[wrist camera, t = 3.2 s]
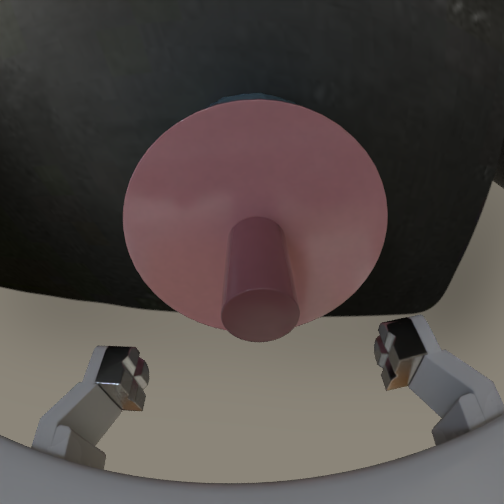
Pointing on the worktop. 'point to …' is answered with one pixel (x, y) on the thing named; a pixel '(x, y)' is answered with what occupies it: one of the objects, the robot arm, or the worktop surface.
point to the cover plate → (249, 184)
